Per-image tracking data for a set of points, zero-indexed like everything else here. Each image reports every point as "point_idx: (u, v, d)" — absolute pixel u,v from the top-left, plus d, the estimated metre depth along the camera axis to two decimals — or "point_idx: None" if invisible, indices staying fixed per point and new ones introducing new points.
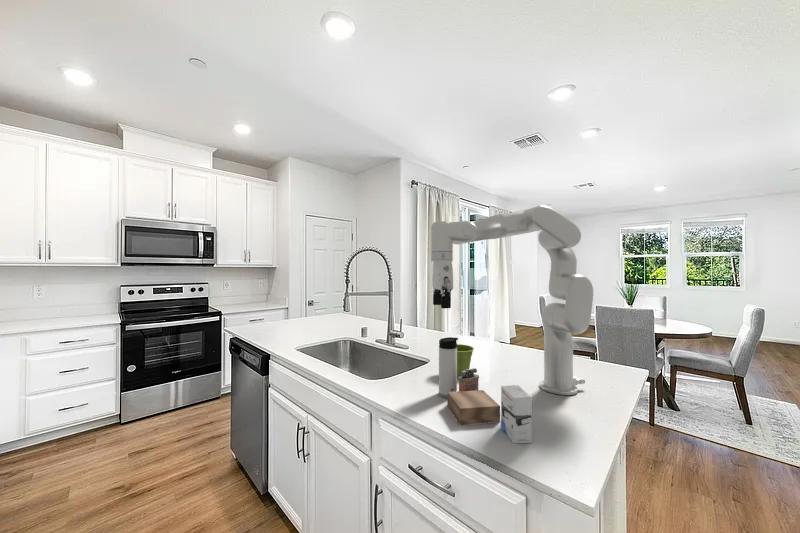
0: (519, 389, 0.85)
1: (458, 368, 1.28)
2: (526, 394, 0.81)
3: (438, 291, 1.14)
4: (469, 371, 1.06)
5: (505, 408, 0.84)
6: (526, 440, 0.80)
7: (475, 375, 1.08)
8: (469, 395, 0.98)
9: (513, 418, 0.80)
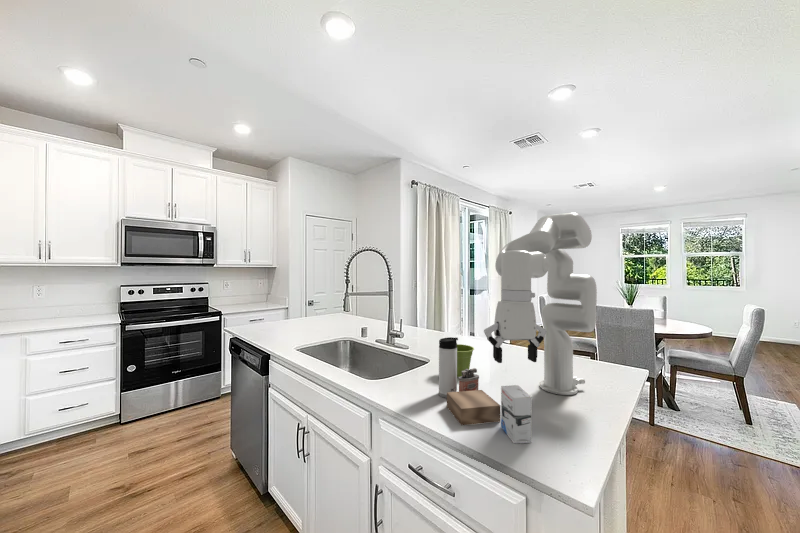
0: (519, 389, 0.85)
1: (458, 368, 1.28)
2: (526, 394, 0.81)
3: None
4: (469, 371, 1.06)
5: (505, 408, 0.84)
6: (526, 440, 0.80)
7: (475, 375, 1.08)
8: (469, 396, 0.98)
9: (513, 418, 0.80)
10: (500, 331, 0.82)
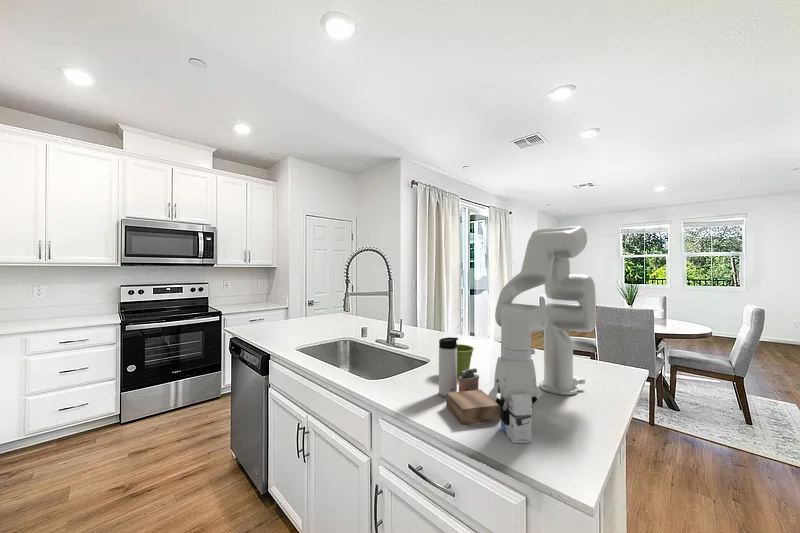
0: None
1: (458, 368, 1.28)
2: (526, 394, 0.81)
3: None
4: (469, 371, 1.06)
5: None
6: (526, 440, 0.80)
7: (475, 375, 1.08)
8: (469, 396, 0.98)
9: (513, 418, 0.80)
10: None
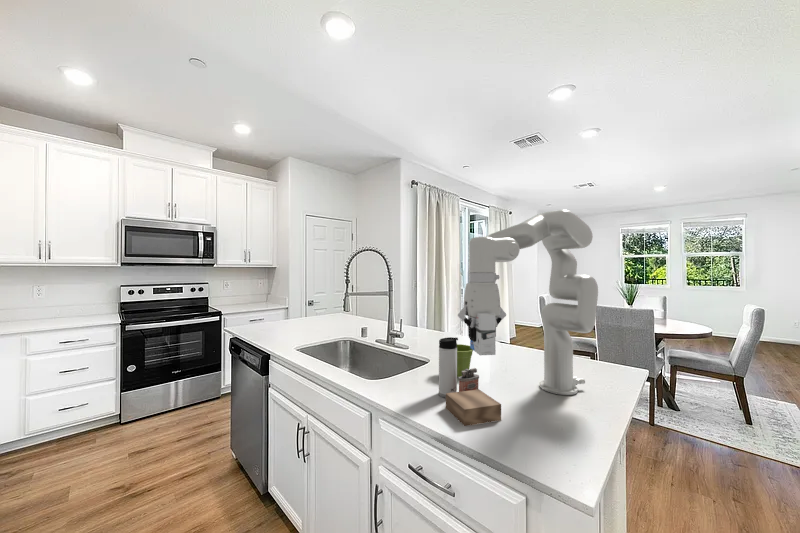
0: None
1: (458, 368, 1.28)
2: (491, 313, 0.91)
3: None
4: (469, 371, 1.06)
5: None
6: (490, 352, 0.89)
7: (475, 375, 1.08)
8: (469, 396, 0.98)
9: (479, 333, 0.89)
10: None
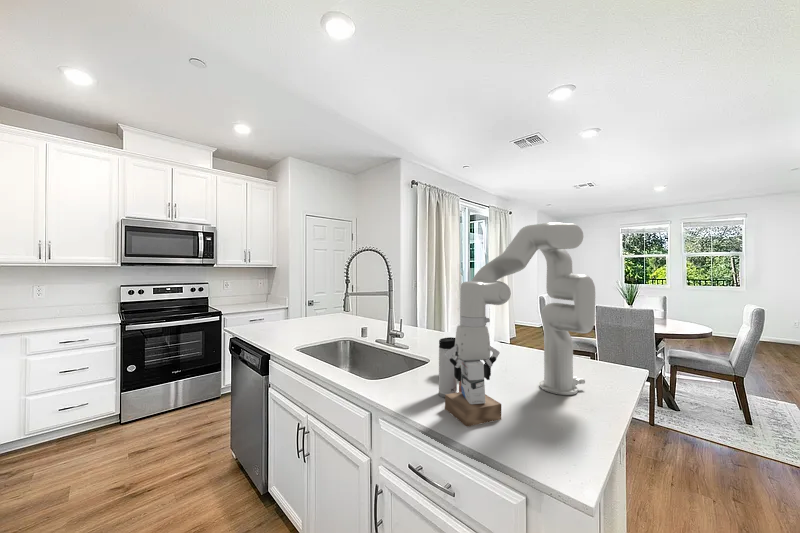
0: None
1: None
2: (479, 362, 0.93)
3: None
4: None
5: (463, 376, 0.96)
6: (480, 401, 0.92)
7: None
8: None
9: (469, 383, 0.92)
10: (458, 353, 0.94)
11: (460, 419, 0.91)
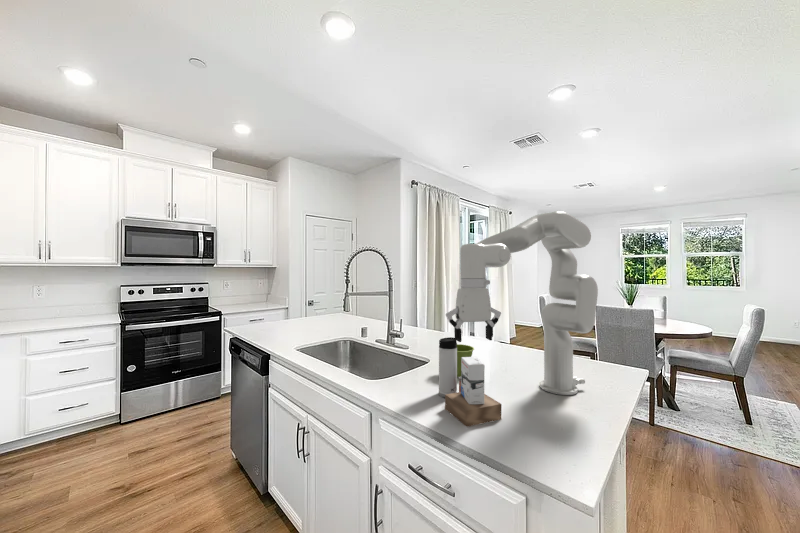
0: (476, 359, 0.97)
1: (458, 368, 1.28)
2: (480, 362, 0.93)
3: None
4: None
5: (463, 375, 0.96)
6: (479, 402, 0.92)
7: None
8: None
9: (469, 383, 0.92)
10: (459, 314, 0.94)
11: (460, 419, 0.91)
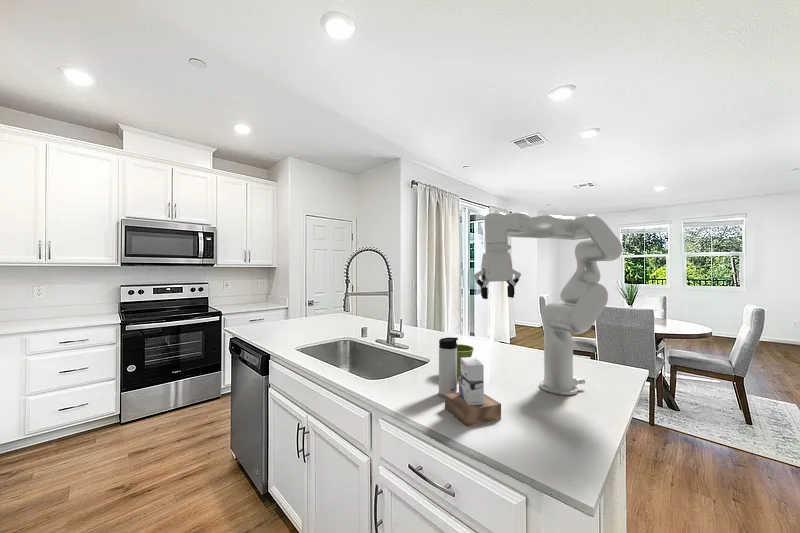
0: (475, 359, 0.97)
1: (458, 368, 1.28)
2: (479, 363, 0.93)
3: None
4: None
5: (462, 376, 0.96)
6: (479, 402, 0.91)
7: None
8: None
9: (468, 383, 0.91)
10: (485, 275, 1.07)
11: (460, 419, 0.91)
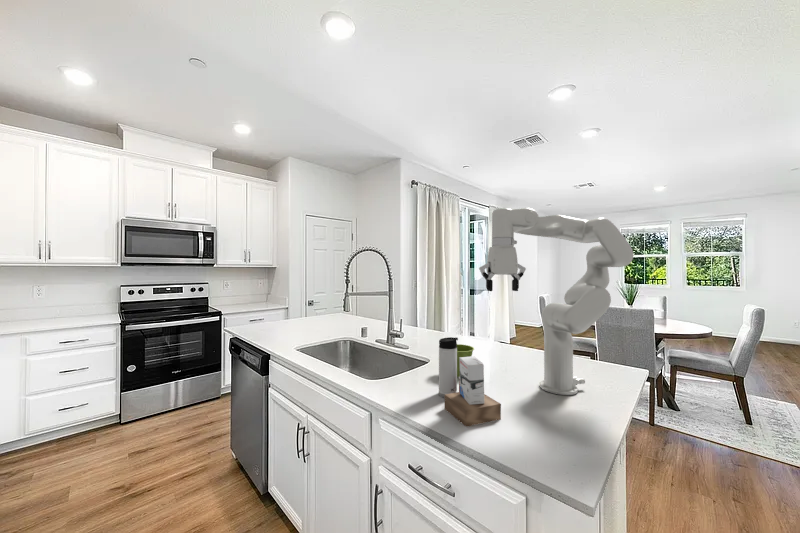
0: (474, 359, 0.97)
1: (458, 368, 1.28)
2: (479, 362, 0.93)
3: None
4: None
5: (462, 376, 0.96)
6: (480, 401, 0.92)
7: None
8: None
9: (468, 383, 0.92)
10: (491, 268, 1.11)
11: (459, 419, 0.91)
